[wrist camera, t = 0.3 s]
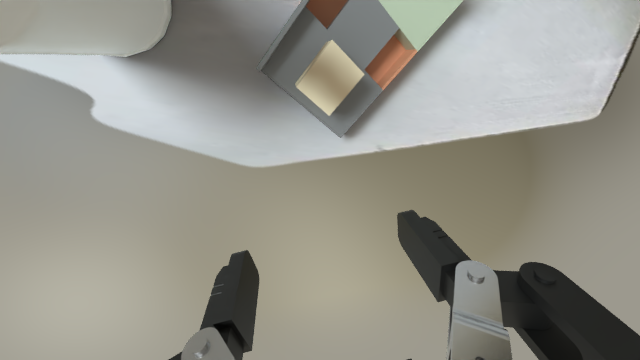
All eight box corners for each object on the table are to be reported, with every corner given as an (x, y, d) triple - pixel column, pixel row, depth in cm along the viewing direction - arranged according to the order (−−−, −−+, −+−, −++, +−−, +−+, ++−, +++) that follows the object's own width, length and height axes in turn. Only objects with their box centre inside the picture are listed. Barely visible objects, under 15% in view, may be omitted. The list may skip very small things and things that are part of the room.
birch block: (326, 42, 27) (332, 39, 24) (355, 72, 29) (364, 74, 26) (294, 83, 29) (296, 87, 25) (324, 109, 31) (329, 116, 27)
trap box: (388, -121, 24) (411, -161, 19) (456, -5, 29) (487, -17, 25) (260, 67, 30) (255, 68, 26) (336, 132, 36) (343, 142, 31)
